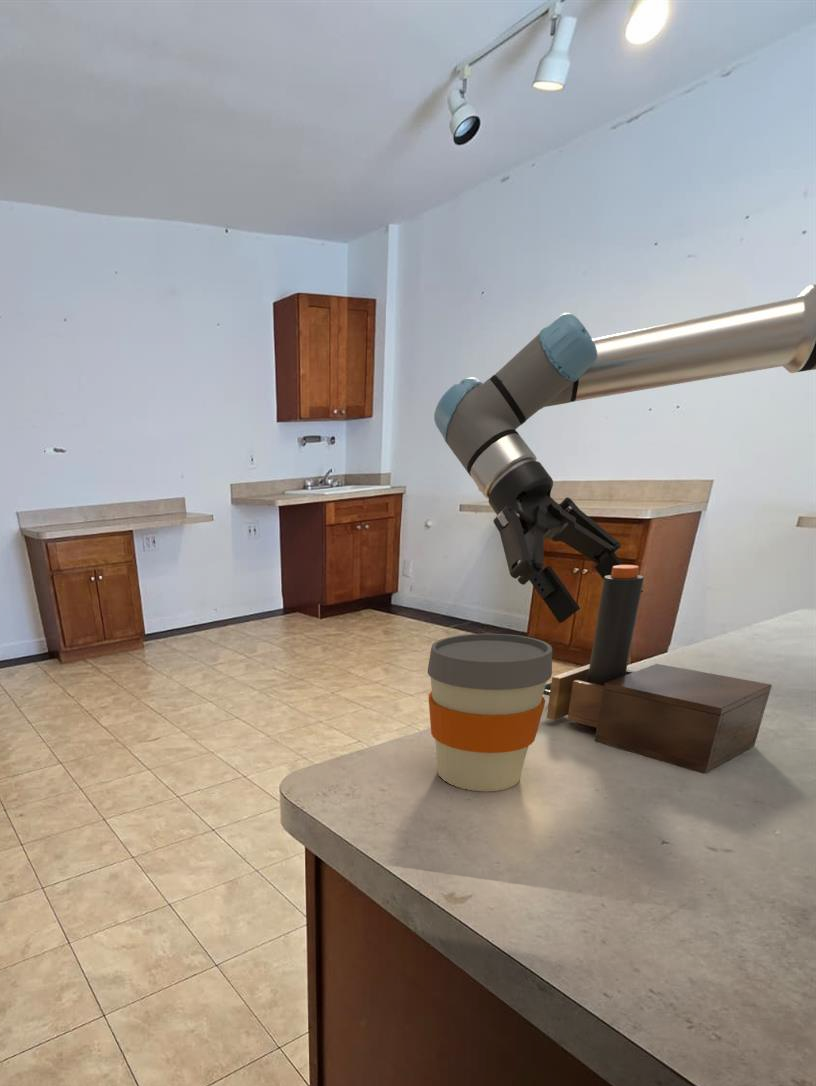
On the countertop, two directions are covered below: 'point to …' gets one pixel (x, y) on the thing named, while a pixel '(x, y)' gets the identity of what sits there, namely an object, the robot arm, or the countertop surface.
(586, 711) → the drawer
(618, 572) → the spray can
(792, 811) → the countertop surface
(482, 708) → the reusable coffee cup
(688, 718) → the cabinet
